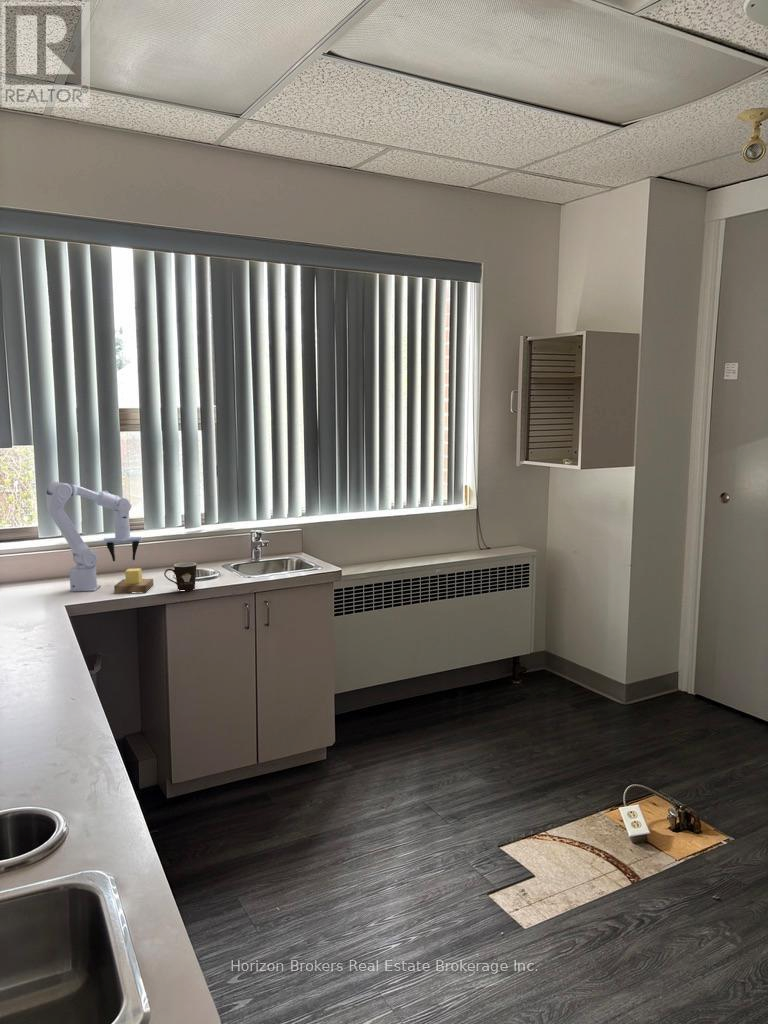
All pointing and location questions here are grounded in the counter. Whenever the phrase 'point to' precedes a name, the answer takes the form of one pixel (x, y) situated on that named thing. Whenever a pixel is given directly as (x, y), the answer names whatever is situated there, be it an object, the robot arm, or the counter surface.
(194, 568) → the coffee mug
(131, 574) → the mustard cube
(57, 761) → the counter surface
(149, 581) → the walnut base
